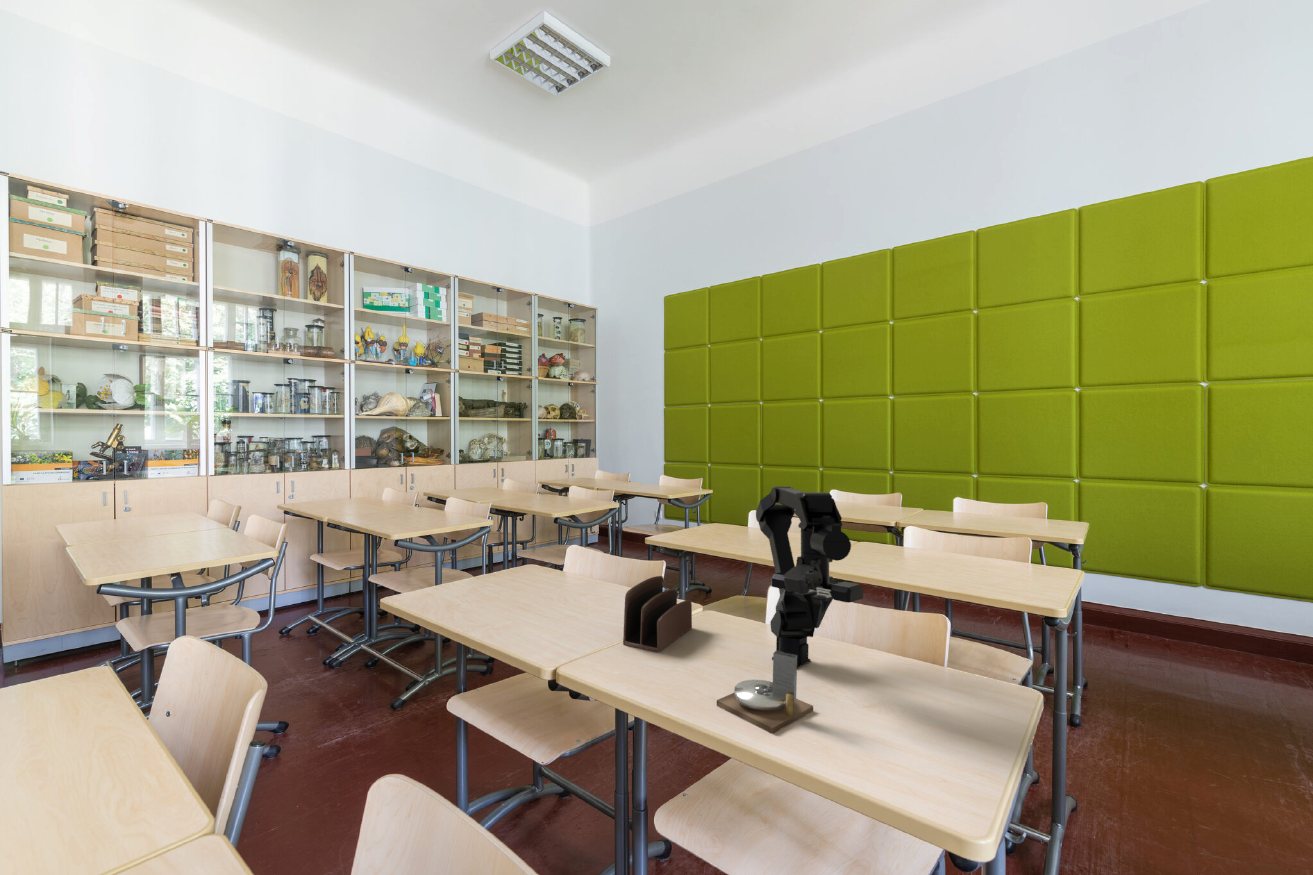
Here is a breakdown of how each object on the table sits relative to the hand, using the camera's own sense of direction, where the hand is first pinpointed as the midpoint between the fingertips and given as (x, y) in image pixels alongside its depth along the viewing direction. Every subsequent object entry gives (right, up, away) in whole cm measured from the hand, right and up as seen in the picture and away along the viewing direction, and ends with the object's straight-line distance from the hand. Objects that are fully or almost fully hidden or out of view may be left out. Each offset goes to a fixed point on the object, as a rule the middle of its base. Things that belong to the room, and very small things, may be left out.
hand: (815, 627), depth 114 cm
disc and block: (-13, -10, -11) cm, 19 cm away
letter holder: (-33, -12, +26) cm, 43 cm away
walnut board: (-13, -12, -11) cm, 20 cm away
